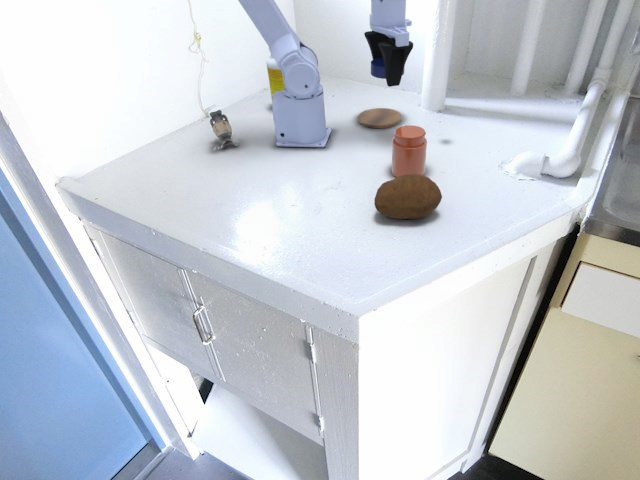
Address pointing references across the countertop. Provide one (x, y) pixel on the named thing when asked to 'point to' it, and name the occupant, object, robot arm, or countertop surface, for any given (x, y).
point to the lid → (379, 68)
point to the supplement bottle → (274, 75)
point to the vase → (222, 129)
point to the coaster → (379, 118)
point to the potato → (408, 197)
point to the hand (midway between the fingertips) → (387, 79)
